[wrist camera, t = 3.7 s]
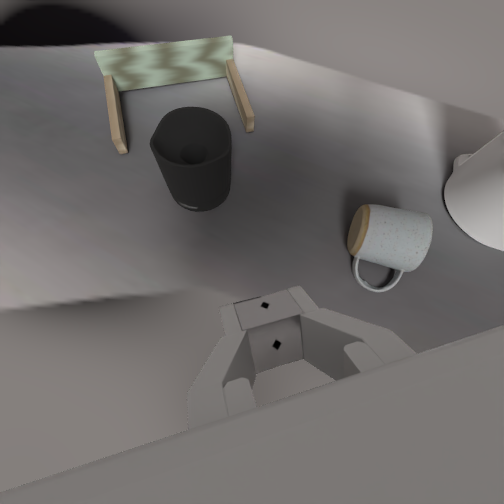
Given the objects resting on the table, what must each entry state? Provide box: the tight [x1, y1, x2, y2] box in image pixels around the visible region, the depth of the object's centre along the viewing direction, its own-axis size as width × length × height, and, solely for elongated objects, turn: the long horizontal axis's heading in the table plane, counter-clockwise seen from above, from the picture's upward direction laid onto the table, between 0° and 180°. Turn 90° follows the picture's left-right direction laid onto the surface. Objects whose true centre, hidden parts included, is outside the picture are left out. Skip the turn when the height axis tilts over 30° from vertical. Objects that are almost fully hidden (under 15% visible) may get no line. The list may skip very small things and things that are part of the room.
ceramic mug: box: [347, 204, 433, 292], centre depth 36 cm, size 11×8×8 cm
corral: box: [94, 36, 255, 154], centre depth 44 cm, size 21×15×6 cm
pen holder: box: [150, 107, 231, 211], centre depth 37 cm, size 9×9×10 cm
